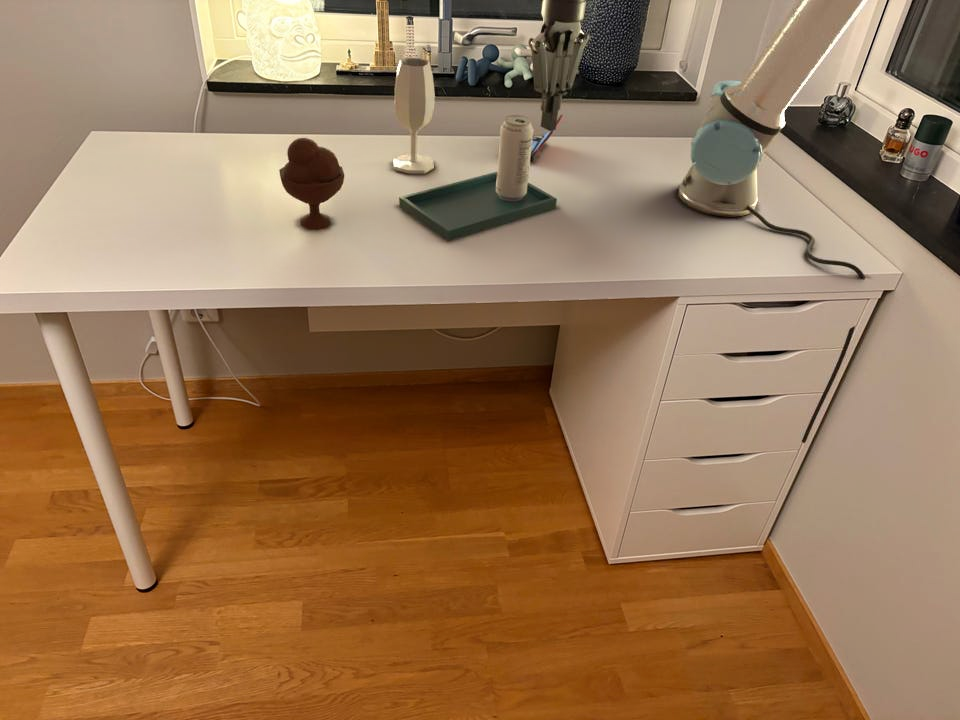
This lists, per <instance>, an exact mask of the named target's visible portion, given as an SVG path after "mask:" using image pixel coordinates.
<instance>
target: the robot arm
mask: <svg viewBox="0 0 960 720" xmlns="http://www.w3.org/2000/svg"><path fill="white" fill-rule="evenodd" d="M867 1H868V0H796V2H795V3H794V5H793V6H792V8H791V9H790V10H789V12H788V14H787V15H786V16H785V17H784V19H783V21H782V22H781V24H780V25H779V27H778V28H777V30H776V31H775V32H774V34H773V35H772V37H771V39H770V40H769V42H768V43H767V44H766V45H765V47H764V48H763V50H762V51H761V53H760V55H759V56H758V57H757V59H756V60H755V62H754V63H753V65H752V66H751V67H750V69H749V70H748V72H746V73H747V74H746V75H745V76H744V77H743V79H742V80H741V81H738V80H721V81H719V82H716V84H715V85H714V87H713V91H712V93H711V94H710V97H711V98H710V102H709V105H708V110H707V113H706V115H705V116H704V118H703V121H701V124H700V126H699V128H698V129H697V131H696V132H695V134H694V135H693V137H692V139H691V144H690V159H691V163H692V165H691V166H690V167H689V170H688V171H687V173H686V174H685V176H684V178H683V179H682V180H681V182H680V185H679V189H678V197H679V199H680V201H682V203H684V204H685V205H687V206H688V207H690V208H692V209H694V210H695V211H698V212H702V213H705V214H708V215H713V216H718V217H728V218H729V217H730V218H731V217H732V218H733V217H742V216H746V215H749V214H752V215H753V216H755V217H756V218H757V219H758V220H759V221H760V222H761V223H762V224H763V225H764V226H766V227H767V228H768V229H771V230H773V231H777V232H782V233H788V234H789V233H790V234H796V235H799V236H803V237H805V238H807V239H808V241H809V243H808V245H807V246H806V248H805V255H806V257H807V258H808V259H810V260H811V261H813V262H815V263H817V264H822V265H828V266H829V265H830V266H840V267H844V268H848V269H850V270H852V271H853V272H854V273H856V274H857V276H858V277H859V278H860V279H862V280H865V279H866V277H865V274H864V273H863V271H862V269H860V268H859V267H858V266H856V265H855V264H853V263H851V262H847V261H841V260H833V259H823V258H821V257H816V256H815V255H814V254H812V252H811V250H812V248H813V247H814V245H815V243H816V241H815V238H814V236H813V235H811V234H810V233H809V232H807V231H804V230H801V229H797V228H788V227H782V226H779V225H775V224H772V223H771V222H769V221H768V220H766V218H765V217H764V216H763V215H761V213H759V212H758V211H757V210H755V209H756V206H757V202H758V171H757V170H758V168H759V165H760V163H761V161H762V156H763V155H764V154H765V152H766V150H768V148H769V147H770V145H771V144H772V143H773V141H774V140H775V139H776V137H777V136H778V135H779V134H780V132H781V131H782V129H783V128H784V127H785V125H786V121H785V110H786V109H787V108H788V106H789V105H790V104H791V102H792V101H793V100H794V98H795V97H796V96H797V94H798V93H799V92H800V90H801V89H802V88H803V86H804V85H805V84H806V82H807V81H808V79H809V78H810V77H811V76H812V74H813V73H814V72H815V70H816V69H817V68H818V66H819V65H820V64H821V62H822V61H823V60H824V58H825V57H826V56H827V54H828V53H829V52H830V50H831V49H832V48H833V46H834V45H835V44H836V42H837V41H838V40H839V38H840V37H841V36H842V34H843V33H844V32H845V30H846V29H847V28H848V27H849V25H850V24H851V22H853V20H854V18H855V17H856V16H857V15H858V13H859V12H860V10H861V9H862V8H863V6H864V5H865V4H866V2H867ZM586 7H587V0H542V1H541V11H540V14H541V16H542V20H543V21H542V24H541V26H540V29H539V34H538V35H537V36H536V37H534V38H533V37H530V38H529V39H528V42H527V44H528V47H529V48H530V51H531V61H532V62H531V63H532V77H533V89H534V91H536V92H537V93H541V103H540V111H541V119H540V127H542V128H543V129H545V130H547V131H552V130H554V131H556V129H557V127H556V123H557V120H558V115H559V111H560V110H561V108H562V107H561V106H562V100H563V96H566V95H567V94H568V91H567V90H571V89H572V88H573V85H574V82H575V78H576V76H577V72H578V68H579V65H580V63H581V59H582V56H583V53H584V49H585V47H586V45H587V44H588V42H589V40H590V35H589V34H588V33H584V32H583V31H582V25H581V22H582V21H583V20H584V19H585V14H586ZM855 328H856V325H854V326H851V327H850V328H849V330H848V332H847V335H846V338H845V341H844V344H843V347H842V350H841V352H840V355H839V357H838V359H837V362H836V364H835V366H834V369H833V371H832V373H831V376H830V378H829V380H828V382H827V384H826V386H825V388H824V390H823V393H822V395H821V396H820V399H819V401H818V402H817V405H816V407H815V409H814V412H813V413H812V415H811V418H810V420H809V423H808V424H807V427H806V429H805V432H804V434H803V437H802V439H801V443H803V444H805V443H807V439H808V437H809V435H810V432H811V430H812V428H813V426H814V423H815V421H816V419H817V417H818V416H819V413H820V411H821V408H822V407H823V404H824V402H825V401H826V398H827V396H828V394H829V392H830V390H831V388H832V385H834V384H833V383H834V382H835V379H836V377H837V375H838V373H839V370H840V368H841V366H842V364H843V361H844V359H845V357H846V354H847V351H848V349H849V346H850V344H851V340H852V337H853V334H854V332H855Z"/></svg>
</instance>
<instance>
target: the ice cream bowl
mask: <svg viewBox="0 0 960 720" xmlns="http://www.w3.org/2000/svg"><path fill="white" fill-rule="evenodd" d="M286 151H287V152H286V155H287V160H288V161H287V163H285V165H284V166H283V167H281V168H280V169H278V171H279V178H280V181H281V184H282V187H283V189H284V190H285V193H287V194H288V195H289V196H291V197H292V198H294V199H295V200H298V201H300V202H302V203H304V204H307V205H308V206H309V213H307V214H305V215H303V216H302V217H301V218H300V219H299V223H300V224H299V225H300V227H301V228H304V229H307V230H312V231H313V230H315V231H318V230H323V229H327V228H328V227H329V226H330V225H332V222H331V218H330V216H328V215H326V214H324V213H322V212H321V211H320V205H321V204H323V203H325V202H327V201H329V200H330V199H332V198H333V197H334V196H335V195H336V194H337V193H338V192H339V191H341V189H342V187H343V184H344V182H345V180H344V179H345V172H344V169H343V166H341V165H340V163H339V159H338V157H337V156H336V155H335V153H334V152H333V151H332V150H330V149H328V148H326V147H323V146H319V145H318V143H317V142H316V141H315V140H313V139H311V138H308V137H299V138H296V139H294V140H293V141H292V142H291V143H290V144H289V146H288V148H287V150H286Z"/></svg>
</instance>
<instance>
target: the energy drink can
mask: <svg viewBox="0 0 960 720" xmlns="http://www.w3.org/2000/svg"><path fill="white" fill-rule="evenodd" d="M531 123H532V120H531V118H529V117H527V116H524V115H518V114H514V115H507V116H506V117H504V122H503V123H502V124H501V126H500V133H499V146H498V157H497V168H496V170H497V171H496V172H497V181H496V192H497V193H498V196H499V197H500V198H501V199H503V200H506V201H519V200H521V199H523V196H525V195H526V193H527V184H528V183H529V175H530V166H531V162H530V157H531V147H532V138H533V137H534V128H533V126H532V124H531Z"/></svg>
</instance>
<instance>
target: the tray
mask: <svg viewBox="0 0 960 720" xmlns="http://www.w3.org/2000/svg"><path fill="white" fill-rule="evenodd" d="M496 181H497V171H494V172H489V173H485V174H483V175H479V176H475V177H471V178H468V179H462V180H459V181H455V182H452V183H448V184H444V185H440V186H436V187H433V188H429V189H425V190H421V191H417V192H413V193H410V194H406V195H402V196H399V197H398V207H399V208H400V209H402V210H403V211H404V212H406V213H408V214H409V215H410V216H411V217H413V218H414V219H416V220H417V221H419V222H420V223H421V224H423V225H424V226H426V227H427V228H428V229H429V230H431V231H433V232H434V233H436V234H437V235H439V236H440V237H441V238H442V239H444V240H445V241H447V242H450V241H454V240H456V239H461V238H463V237H467V236H469V235H472V234H477V233H480V232H483V231H486V230H490V229H493V228H496V227H499V226H502V225H506V224H508V223H513V222H515V221H518V220H522V219H524V218H529V217H532V216H534V215H538V214H541V213H544V212H547V211H551V210H553V209H556V208H557V202H558V201H557V200H558V198H556V197H555V196H553V195H551V194H550V193H547V192H546V191H545V190H543V189H541V188H539V187H537V186H536V185H533V184H532V183H530V182H528V184H527V193H526V195H525V196H523V199H521V200H519V201H506V200H503V199H501V198H500V197H499V196H498V193H497V192H496Z"/></svg>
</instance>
